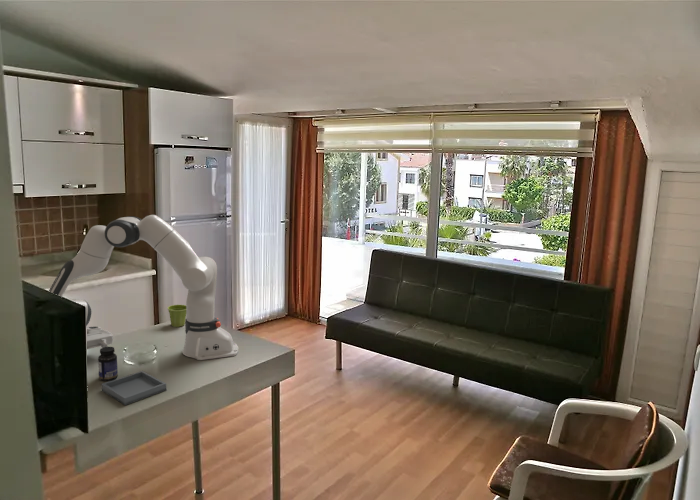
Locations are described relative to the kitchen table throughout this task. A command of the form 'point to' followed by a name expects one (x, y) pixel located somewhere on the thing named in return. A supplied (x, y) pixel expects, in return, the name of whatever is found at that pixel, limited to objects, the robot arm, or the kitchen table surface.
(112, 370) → the pill bottle
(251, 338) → the kitchen table surface
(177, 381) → the kitchen table surface
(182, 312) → the object
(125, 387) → the tray
